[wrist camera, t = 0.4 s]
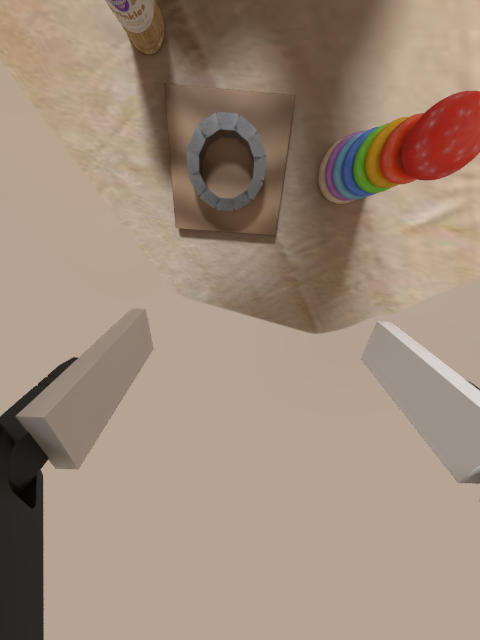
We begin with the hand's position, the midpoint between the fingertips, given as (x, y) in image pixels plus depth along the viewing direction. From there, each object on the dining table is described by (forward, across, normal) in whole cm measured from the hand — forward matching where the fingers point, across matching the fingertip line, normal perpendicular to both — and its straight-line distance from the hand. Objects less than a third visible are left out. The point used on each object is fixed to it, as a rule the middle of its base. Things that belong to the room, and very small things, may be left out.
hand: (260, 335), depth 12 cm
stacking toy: (+27, +13, +12) cm, 32 cm away
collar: (+25, -4, +11) cm, 28 cm away
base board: (+27, -4, +11) cm, 29 cm away
